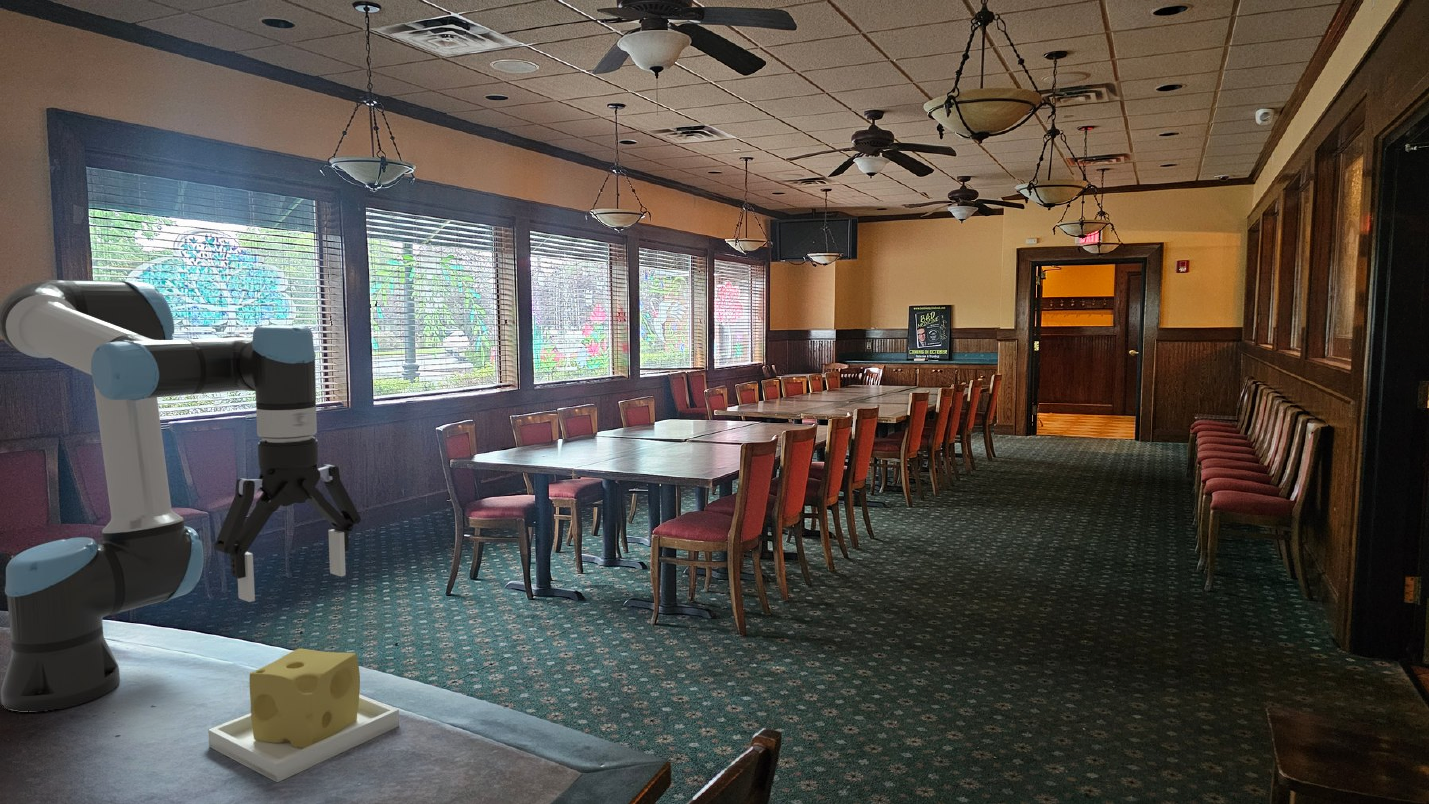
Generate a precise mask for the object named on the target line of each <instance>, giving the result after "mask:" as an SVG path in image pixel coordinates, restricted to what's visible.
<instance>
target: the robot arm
mask: <svg viewBox="0 0 1429 804" xmlns="http://www.w3.org/2000/svg"><path fill="white" fill-rule="evenodd" d="M252 332H253V333H252V337H245V336H242V335H226V336H225V335H224V336H219V337H215V338H214V337H212V338H211V337H209V338H189V339H187V338H186V339H185V338H184V339H174V334H175V321H174V316H173V313H172V310H171V307H170V305H169V303H168V301H167V300H166V297H165V296H164V295H163V294H162V293H161V292H160V290H158V288H156V287H155V286H154V285H152V284H150V283H146V282H142V281H129V280H125V279H122V280H120V279H119V280H62V279H46V280H39V281H34V282H30V283H28V284H25V285H22V286H20V287H18V288H17V289H15V290H13V291H11V292H10V293H9V294H8V295H6V296H5V298H4V299H3V300H2V301H1V302H0V337H1V338H2V340H3V341H4V342H5V344H6V345H8V346H9V347H11V348H13V349H15V351H18V352H20V353H22V354H25V355H27V356H29V357H33V358H37V359H48V358H51V359H53V360H56V361H58V362H60V363H62V364H65V365H66V366H69V367H72V368H74V369H76V370H79V371H81V372H83V373H85V374H87V375H90V376H91V378H92V382H93V389H94V396H95V403H96V404H95V405H96V411H97V412H96V413H97V420H98V427H99V432H100V433H99V434H100V442H101V449H102V456H103V463H104V472H105V479H106V487H107V494H108V501H109V508H110V521H109V522H108V523H107V525H106V526H105V527H103V528H102V530H101V533H102V541H103V542H102V543H97V542H96V540H95V539H94V538H91V537H81V536H79V537H78V536H77V537H71V538H68V539H57V540H53V541H50V542H46V543H42V544H39V545H36V546H33V547H30V548H28V549H26V550H24V551H22V552H20V553H18V554H17V555H16V556H14V557H13V558H12V559H10V560H9V562H8V563H7V565H6V567H5V586H4V593H5V595H6V599H7V600H6V601H7V612H8V622H9V632H10V644H11V655H10V659H9V662H8V665H7V668H6V672H5V675H4V678H3V682H2V685H1V688H0V698H1V699H0V700H1V706H2V705H3V706H4V707H5V708H7V709H13V710H18V711H28V712H29V711H45V710H51V709H58V710H63V709H66V708H71V707H76V706H78V705H82V704H85V703H88V702H91V701H94V700H95V699H98V698H100V697H103V696H104V695H107V694H108V693H110V692H112V691H114V689H115V688H117V686H119V684H120V682H121V675H120V666H119V664H118V662H117V660H116V658H115V656H114V654H113V652H112V650H111V648H110V646H109V644H108V643H107V641H106V638H105V636H104V626H103V623H104V621H103V618H105V617H109V616H111V615H112V616H113V615H116V614H120V613H123V612H127V611H130V610H134V609H138V608H141V607H146V606H149V605H153V604H157V603H163V604H164V603H166V602H168V601H170V600H172V599H175V598H179V597H182V596H184V595H187V594H189V593H190V592H191V591H193V590H194V588H195V587H196V586H197V584H198V582H199V581H200V578H201V576H202V572H203V568H204V548H203V544H202V540H200V539H199V538H200V536H199V534H198V532H197V531H196V530H195V529H194V528H192V527H190V526H186V525H185V521H184V517H183V516H181V515H179V514H178V513H176V512H175V511H174V510H173V509H172V502H171V496H170V495H171V494H170V487H169V479H168V471H167V464H166V457H165V449H164V448H165V447H164V441H163V433H162V425H161V417H160V411H159V403H158V402H159V401H158V398H163V397H165V398H166V397H173V396H176V397H177V396H188V395H198V394H199V395H201V394H212V393H213V394H214V393H223V392H235V391H236V392H238V391H248V392H249V391H250V392H254V393H255V408H256V409H255V411H256V435H257V436H258V437H259V438H261V439H260V440H259V442H257V455H258V466H259V469H260V473H259V476H258V477H257V478H252V479H248V478H243V477H239V478H238V479H237V480H236V483H235V495H234V497H233V501H232V502H231V505H230V507H229V509H228V512H227V514H226V517H225V519H224V522H223V523H222V526H221V528H220V531H219V533H218V535H217V538H216V541H215V543H214V546H213V547H214V548H213V549H214V550H216V551H217V552H221V553H224V554H229V557H230V573H231V576H232V577H233V578H235V579H237V591H238V595H237V597H238V599H240V600H243V601H245V602H248V603H251V602H255V601H256V598H255V597H256V595H255V593H256V592H255V576H254V575H255V574H254V553H253V552H249V551H248V550H249V548H250V547H251V545H252V544H253V543H254V541H255V539H256V538H257V536H258V535H259V534H260V532H261V531H262V529H263V528H264V527H265V525H266V523H267V522H268V521H269V519H270V517H271V516H272V515H273V513H275V512H276V511H278V509H279V508H280V506H281V507H289V506H291V505H293V504H303V503H306V501H307V502H308V503H309V504H310V505H311V506H312V507H313V508H314V509H315V510H316V511H317V512H318V513H319V514H320V515H321V516H322V517H323V518H324V519H325V520H326V521H327V522H328V523H329V524H330V525H331V526H332V527H333V528H335V529H332V528H331V529H328V552H329V553H328V555H329V556H328V557H329V574H332V575H335V576H337V577H344V576H346V574H347V573H346V553H345V552H348V551H349V549H350V542H349V541H350V539H349V537H350V536H349V532H352V531H353V529H354V525H355V524H356V525H358V524H359V523H361V521H362V518H361V516H360V514H359V512H358V510H357V508H356V507H355V505H354V502H353V501H352V499H351V497H350V495H349V493H348V492H347V490H346V488H345V486H344V483H343V482H342V481H341V475H340V468H339V466H338V465H332V464H327V463H324V464H323V465H322V466H321V467H319V468H318V465H317V464H318V462H319V443H318V442H319V440H318V439H317V438H316V437H314V435H316V434H317V433H318V425H317V423H318V422H317V404H316V403H317V401H316V400H317V389H316V388H317V387H316V386H317V385H316V383H317V382H316V378H317V377H316V355H317V354H316V351H315V348H314V347H315V346H314V337H313V336H314V335H313V331H312V330H311V329H310V328H309V327H308V326H306V325H290V324H289V325H288V324H285V325H284V324H281V325H279V324H276V325H273V324H271V325H260V326H259V325H258V326H256V327H255V328H254V330H253V331H252ZM320 480H321V481H322V482H323V483H324V485H325V487H326V489H327V490H328V493H329V494H330V497H331V498H332V501H334V503H335V506H336V508H337V509H338V510H337V509H336V508H335V507H334V506H333V505H332V504H331V503H330V502H329V501H328V500H327V499H326V498H325V496H324V494H323V493H322V492H321V491H320V490H319V489H318V488H317V487H316V486H317V484H318V482H319V481H320ZM259 489H260V491H262V493H261V495H260V496H259V498H258V499H257V501H256V502H255V507H254V508H253V510H252V511H251V513H250V514H249V516H248V513H249V512H250V509H251V507H252V504H253V501H254V499H255V498H254V497H255V495H257V494H258V492H259V491H258V490H259ZM247 516H248V517H247ZM3 706H2V707H3ZM5 708H4V709H5ZM45 712H46V711H45Z"/></svg>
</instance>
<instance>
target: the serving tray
mask: <svg viewBox="0 0 1429 804" xmlns="http://www.w3.org/2000/svg"><path fill="white" fill-rule="evenodd" d="M398 727H400V709H398V708H396V707H393V706H390V705H388V704H385V703H384V702H380V701H378V700H375V699H372V698H370V697H367V696H365V695H362V694H361V693H360V694H359V704H358V712H357V720H356V721H354V722H353V723H351V724H349V725H348V726H346V727H344V728H343V729H341V730H340V731H338V732H337V733H335V734H334V735H332V736H331V737H329V738H327V739H324V740H322V741H320V742H317V743H315V744H313V745H311V746H308V747H306V748H304V749H303V748H298V747H294V746H292V745H291V743H290V741H286V742H283V743H272V742H265V741H258V740H255V739H254V736H253V729H252V720H251V712H250V713H247V714H244V715H243V716H240V717H238V718H235V719H232V720H229V721H227V722H224V723H220V724H219V725H217V726H214V727H212V728H209V729H208V730H207V731H208V732H207V734H208V735H207V736H208V747H209V748H210V749H213V750H214V751H217V752H218V753H220V754H222V755H224V756H225V757H228V758H230V759H231V760H234V761H236V762H237V763H239V764H241V765H243V766H245V767H247V768H249V769H250V770H253V771H254V772H256V773H258V774H260V775H262V776H264V777H266V778H268V779H270V780H272V781H274V782H276V783H280V782H282V781H283V780H285V779H288V778H289V777H292V776H294V775H296V774H298V773H301V772H303V771H305V770H307V769H309V768H312V767H314V766H316V765H318V764H320V763H322V762H324V761H327V760H330V759H331V758H333V757H335V756H338V755H340V754H341V753H344V752H346V751H348V750H350V749H353V748H355V747H357V746H359V745H361V744H363V743H365V742H369V741H370V740H373V739H374V738H376V737H379V736H381V735H382V734H385V733H387V732H389V731H391V730H394V729H396V728H398Z"/></svg>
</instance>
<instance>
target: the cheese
mask: <svg viewBox="0 0 1429 804" xmlns="http://www.w3.org/2000/svg"><path fill="white" fill-rule="evenodd" d="M360 678H361V675H360V665H359V660H358V655H357V653H355V652H332V651H321V650H314V649H307V648H297V649H294V650H293V651H291V652H289V653H287V654H285V655H283V656H282V657H280V658H278V659H277V660H275V661H272V662H271V663H268V664H266V665H265V666H264V665H263V666H262V667H260V668H258V669H256V670H254V671H252V672H250V674H249V696H250V697H249V698H250V713H251V720H252V729H253V736H254V739H255V740H258V741H265V742H272V743H283V742H286V741H290V743H291V745H292V746H294V747H298V748H303V749H304V748H306V747H308V746H311V745H313V744H315V743H317V742H320V741H322V740H324V739H327V738H329V737H331V736H332V735H334V734H335V733H337V732H338V731H340V730H341V729H343V728H344V727H346V726H348V725H349V724H351V723H353V722H354V721H356V720H357V712H358V704H359V694H360V695H361V693H360V692H361V689H360V688H361V679H360Z"/></svg>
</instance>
